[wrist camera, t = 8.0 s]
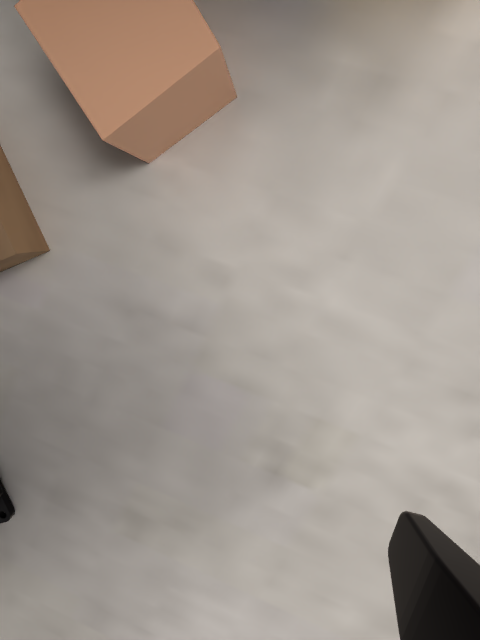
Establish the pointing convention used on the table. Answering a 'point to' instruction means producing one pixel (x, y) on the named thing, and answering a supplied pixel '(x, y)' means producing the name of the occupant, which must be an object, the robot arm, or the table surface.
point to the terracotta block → (134, 66)
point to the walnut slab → (16, 222)
